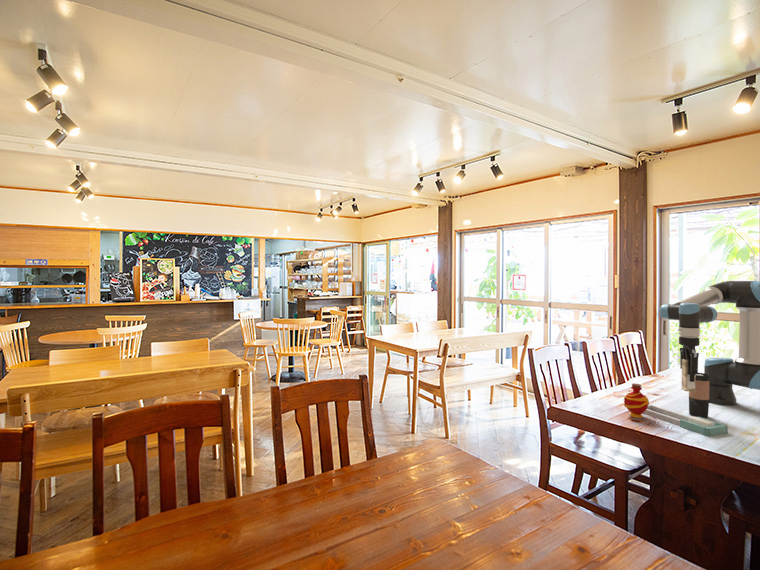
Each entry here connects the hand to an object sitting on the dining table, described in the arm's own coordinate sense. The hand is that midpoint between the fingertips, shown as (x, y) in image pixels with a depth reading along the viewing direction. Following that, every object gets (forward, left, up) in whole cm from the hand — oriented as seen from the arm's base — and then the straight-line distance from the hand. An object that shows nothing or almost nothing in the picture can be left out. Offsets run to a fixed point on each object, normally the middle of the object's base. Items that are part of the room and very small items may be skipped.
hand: (688, 386), depth 185 cm
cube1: (+5, +7, -16) cm, 18 cm away
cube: (+5, +11, -16) cm, 20 cm away
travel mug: (-12, -3, -16) cm, 20 cm away
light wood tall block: (0, 0, -2) cm, 2 cm away
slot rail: (+5, -6, -16) cm, 18 cm away
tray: (+5, +10, -16) cm, 19 cm away
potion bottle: (+18, -12, -16) cm, 26 cm away
